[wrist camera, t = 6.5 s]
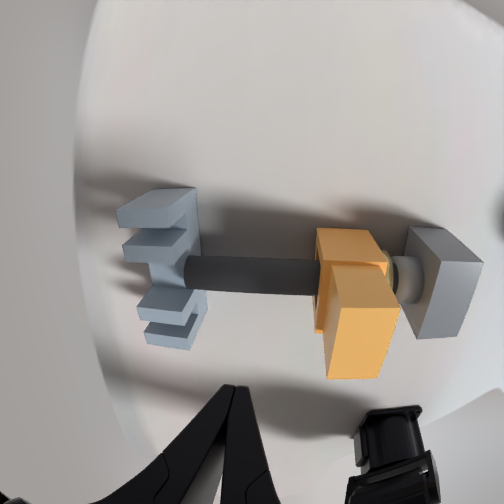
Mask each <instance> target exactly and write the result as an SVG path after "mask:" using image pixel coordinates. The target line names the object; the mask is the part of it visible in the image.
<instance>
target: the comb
mask: <svg viewBox="0 0 504 504" xmlns="http://www.w3.org/2000/svg"><path fill="white" fill-rule="evenodd" d="M116 215H117V221H118V226H119V228H142V230H140V231H139V232H138V233H137V234H135V235H134V236H133V237H132V238H130V239H129V240H128V241H127V242H125V243H124V244H123V245H122V248H123V253H124V257H125V262H135V263H148V265H149V270H150V275H151V280H152V285H153V286H152V287H151V289H150V290H149V291H148V292H147V294H146V295H145V296H144V297H143V299H142V300H141V301H140V303H139V304H138V305H137V311H138V315H139V318H140V320H143V321H150V323H149V325H148V326H147V328H146V329H145V331H144V335H145V339H146V342H147V344H151V345H157V346H163V347H169V348H176V349H183V350H190V348H191V346H192V344H193V341H194V339H195V337H196V335H197V332H198V330H199V328H200V325H201V323H202V321H203V319H204V316H205V314H206V312H207V310H208V309H207V301H206V293H205V290H197V289H187V288H186V286H185V283H184V265H185V261H186V259H187V257H188V256H189V255H196V256H201V247H200V236H199V225H198V214H197V201H196V188H172V189H152V190H150V191H148V192H147V193H145V194H143V195H141V196H139V197H137V198H136V199H134V200H132V201H130V202H128V203H127V204H125V205H123V206H121V207H120V208H118V209H116Z"/></svg>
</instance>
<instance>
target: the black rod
mask: <svg viewBox="0 0 504 504" xmlns="http://www.w3.org/2000/svg"><path fill="white" fill-rule="evenodd" d="M392 265H393V289H392V291H393V293H394V295H395V294H396V292H397V289H398V283H399V274H398V268H397V266H396V264H395V263H392ZM320 270H321V266H320V260H298V259H271V258H246V257H221V256H196V255H189V256H188V257H187V259H186V261H185V265H184V283H185V286H186V288H187V289H197V290H211V291H226V292H243V293H261V294H282V295H308V296H318V289H319V280H320Z"/></svg>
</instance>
